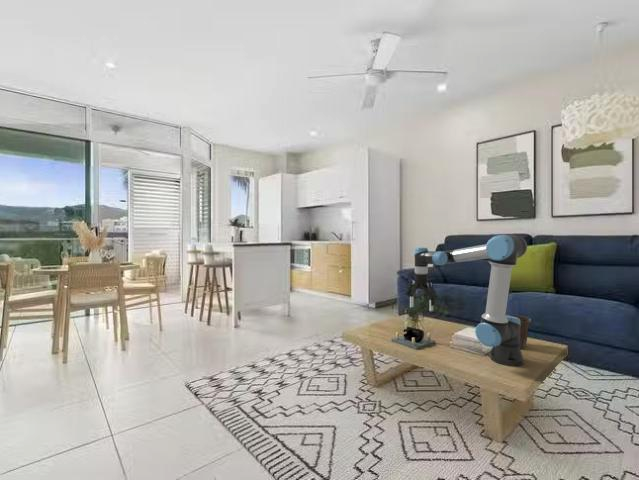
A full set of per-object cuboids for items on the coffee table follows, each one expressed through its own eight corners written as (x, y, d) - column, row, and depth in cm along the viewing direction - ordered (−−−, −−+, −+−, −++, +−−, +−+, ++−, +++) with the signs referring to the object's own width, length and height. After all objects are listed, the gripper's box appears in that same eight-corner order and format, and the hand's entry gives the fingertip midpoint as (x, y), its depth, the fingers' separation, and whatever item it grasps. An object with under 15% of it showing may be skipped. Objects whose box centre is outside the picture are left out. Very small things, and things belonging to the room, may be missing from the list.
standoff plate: (435, 343, 196) (435, 334, 196) (416, 349, 185) (416, 339, 185) (410, 335, 211) (410, 326, 210) (391, 341, 200) (391, 332, 200)
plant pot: (523, 352, 182) (524, 323, 181) (493, 344, 194) (493, 317, 194) (534, 346, 192) (535, 318, 191) (504, 338, 204) (505, 312, 204)
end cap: (424, 340, 196) (424, 329, 196) (417, 343, 192) (417, 331, 192) (409, 336, 204) (409, 325, 204) (402, 339, 199) (403, 327, 199)
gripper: (443, 274, 190) (443, 311, 191) (407, 271, 210) (407, 304, 210) (436, 275, 186) (436, 313, 186) (400, 272, 205) (400, 306, 206)
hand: (421, 309), depth 198 cm, fingers open, 13 cm apart
